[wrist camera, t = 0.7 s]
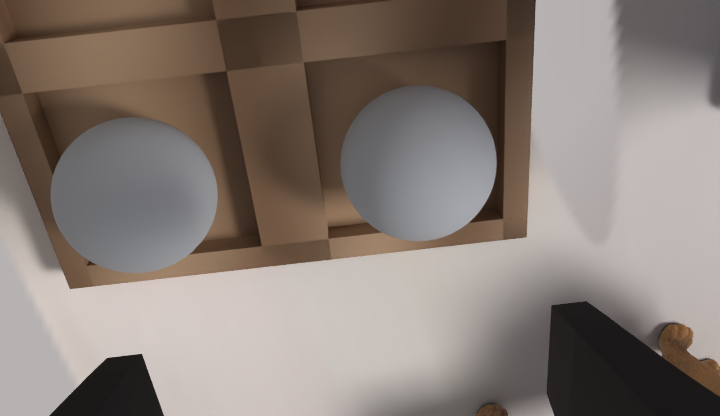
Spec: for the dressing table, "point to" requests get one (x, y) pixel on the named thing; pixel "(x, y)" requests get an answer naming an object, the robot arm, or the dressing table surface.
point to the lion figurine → (674, 352)
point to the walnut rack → (264, 107)
